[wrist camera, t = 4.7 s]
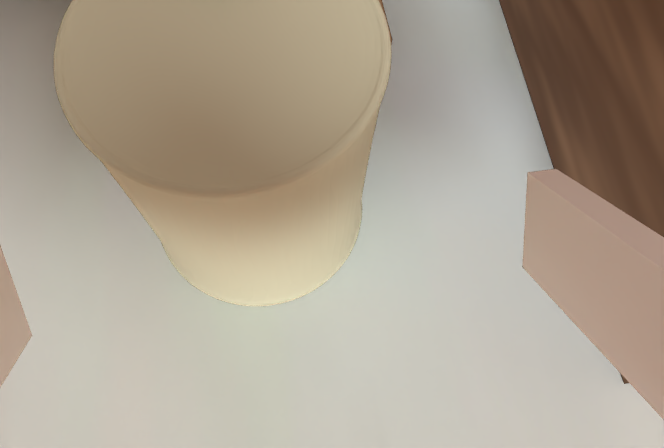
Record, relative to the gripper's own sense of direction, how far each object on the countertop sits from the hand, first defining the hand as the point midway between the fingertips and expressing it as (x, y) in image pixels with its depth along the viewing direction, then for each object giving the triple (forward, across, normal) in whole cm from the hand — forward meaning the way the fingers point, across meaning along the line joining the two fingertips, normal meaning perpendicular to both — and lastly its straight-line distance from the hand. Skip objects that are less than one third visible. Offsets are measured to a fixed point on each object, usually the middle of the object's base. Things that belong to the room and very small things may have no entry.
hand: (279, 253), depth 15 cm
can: (+12, -1, -3) cm, 12 cm away
